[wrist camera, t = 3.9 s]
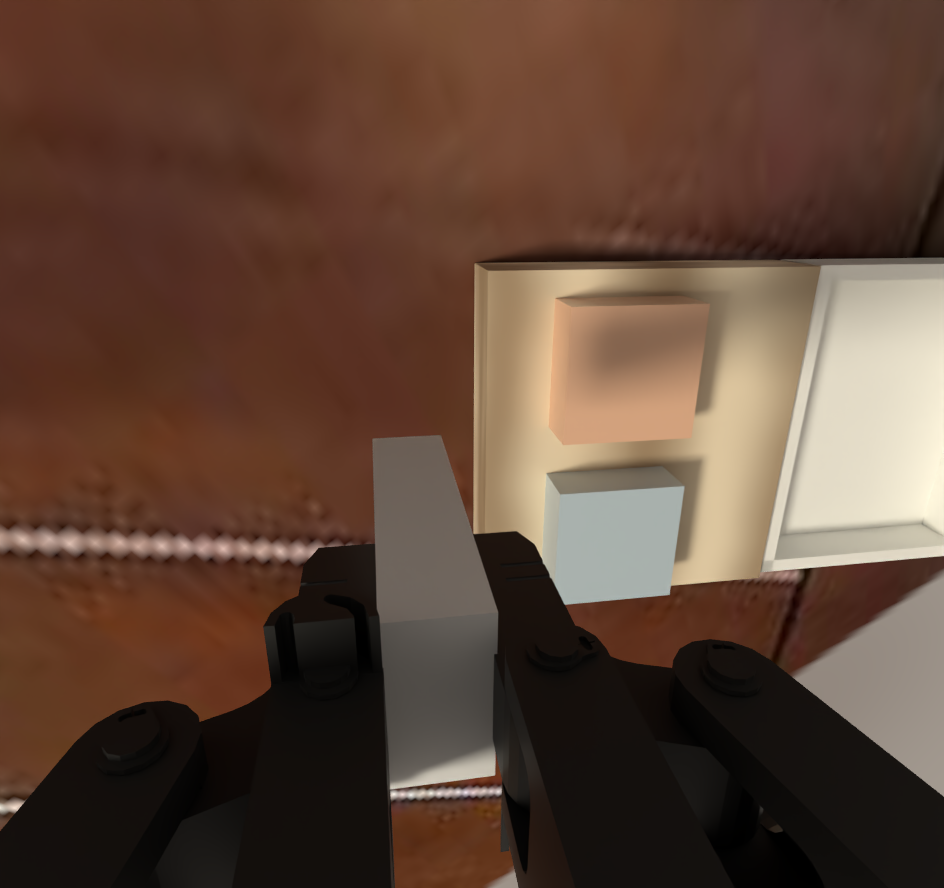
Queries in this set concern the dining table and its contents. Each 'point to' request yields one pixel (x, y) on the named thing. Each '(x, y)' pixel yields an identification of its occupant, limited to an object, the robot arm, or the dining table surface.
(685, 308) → the tile terracotta
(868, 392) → the tray
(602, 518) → the tile slate
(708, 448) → the beige flat block
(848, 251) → the dining table surface
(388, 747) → the robot arm
